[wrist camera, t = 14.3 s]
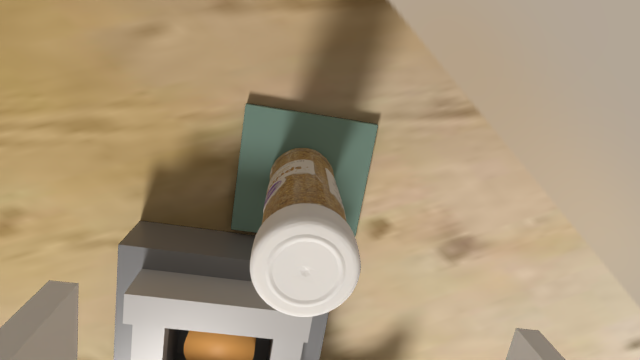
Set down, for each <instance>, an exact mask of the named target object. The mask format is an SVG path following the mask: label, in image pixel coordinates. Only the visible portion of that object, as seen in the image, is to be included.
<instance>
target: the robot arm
mask: <svg viewBox="0 0 640 360" xmlns="http://www.w3.org/2000/svg"><path fill="white" fill-rule="evenodd" d="M77 345H78V283H69V282H60V281H50V280H49V281H48V282H47V283H46V284H45V285H44V286H43V287H42V288H41V289H40V290H39V291H38V292H37V293H36V294H35V295H34V296H33V297H32V298H31V299H30V300H29V301H28V302H26V303H25V304H24V305H23V306H22V307H21V308H20V309H19V310H18V311H17V312H16V313H15V314H14V315H13V316H12V317H11V318H10V319H9V320H8V321H7V322H6V323H5V324H4V325H3V326H2V327H1V328H0V360H77ZM506 360H565V359H564V358H563V357H562V356H561V354H560V353H559V352H558V351H557V350H556V349H555V348H554V347H553V346H552V345H551V343H550V342H549V341H548V340H547V339H546V338H545V337H544V336H543V335H542V334H541V333H540V331H539V330H529V329H520V328H516V330H515V333H514V336H513V339H512V342H511V345H510V348H509V351H508V354H507V357H506Z"/></svg>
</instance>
